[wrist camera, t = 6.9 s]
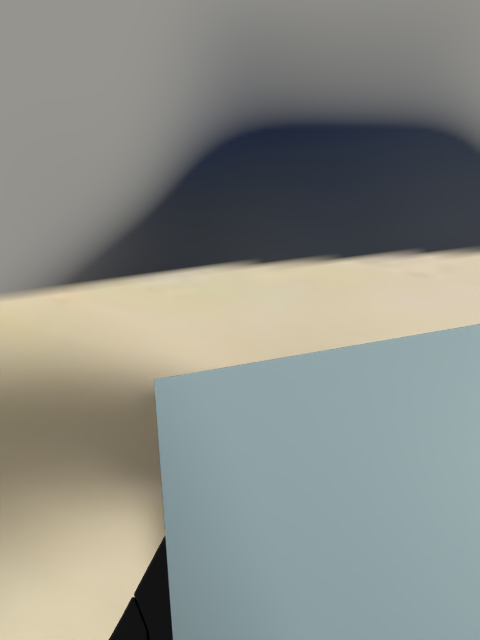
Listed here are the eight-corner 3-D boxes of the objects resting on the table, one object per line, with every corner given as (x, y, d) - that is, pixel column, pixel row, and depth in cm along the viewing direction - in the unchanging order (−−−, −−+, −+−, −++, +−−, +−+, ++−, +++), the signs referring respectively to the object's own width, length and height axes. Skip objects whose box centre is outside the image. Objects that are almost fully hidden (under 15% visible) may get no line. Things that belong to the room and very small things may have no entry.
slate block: (400, 545, 14) (991, 1035, 2) (260, 566, 14) (207, 1113, 3) (362, 402, 16) (601, 302, 4) (239, 422, 16) (153, 379, 4)
